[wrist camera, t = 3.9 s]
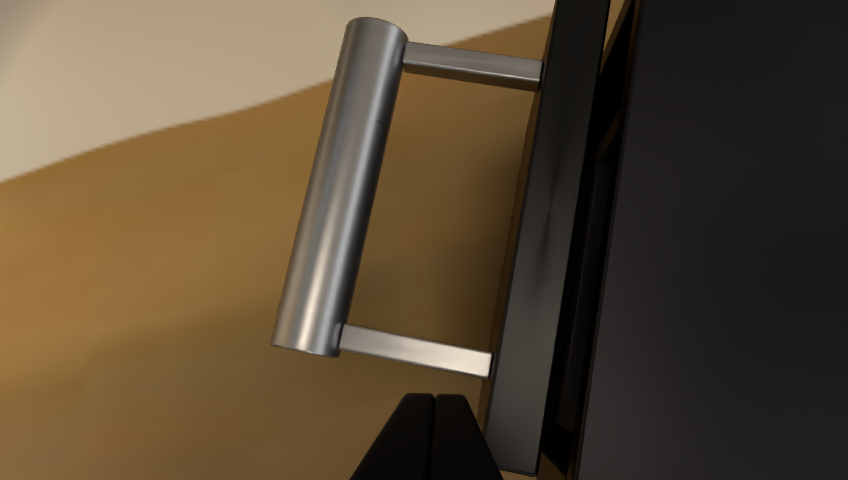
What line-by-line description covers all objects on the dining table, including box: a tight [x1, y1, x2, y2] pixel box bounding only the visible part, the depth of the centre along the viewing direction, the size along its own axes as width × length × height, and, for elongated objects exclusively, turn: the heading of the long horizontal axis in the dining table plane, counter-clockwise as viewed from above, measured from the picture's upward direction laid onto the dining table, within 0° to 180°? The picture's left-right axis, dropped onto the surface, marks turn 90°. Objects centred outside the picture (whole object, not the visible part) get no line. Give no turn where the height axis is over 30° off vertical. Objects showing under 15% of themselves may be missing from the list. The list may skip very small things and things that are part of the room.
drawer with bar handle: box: [270, 0, 620, 477], centre depth 17 cm, size 18×11×9 cm, turn 79°
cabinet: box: [536, 0, 848, 480], centre depth 17 cm, size 14×12×11 cm
